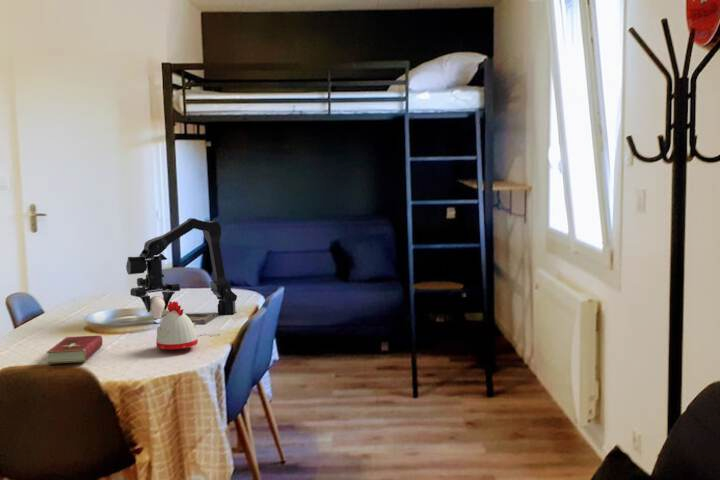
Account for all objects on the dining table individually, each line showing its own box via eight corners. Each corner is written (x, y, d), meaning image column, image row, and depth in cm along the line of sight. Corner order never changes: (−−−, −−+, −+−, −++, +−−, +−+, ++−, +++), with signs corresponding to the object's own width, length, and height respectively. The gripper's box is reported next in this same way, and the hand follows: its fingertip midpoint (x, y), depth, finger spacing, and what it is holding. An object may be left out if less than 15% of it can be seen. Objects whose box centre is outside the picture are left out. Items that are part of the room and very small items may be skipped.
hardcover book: (102, 346, 255) (102, 334, 255) (86, 361, 234) (85, 349, 234) (67, 347, 254) (66, 336, 254) (47, 363, 233) (46, 351, 233)
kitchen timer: (181, 337, 263) (179, 296, 262) (205, 342, 255) (203, 300, 253) (148, 345, 253) (146, 302, 251) (172, 351, 244) (170, 307, 243)
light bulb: (147, 325, 285) (145, 297, 284) (150, 322, 292) (149, 295, 291) (164, 324, 286) (163, 297, 285) (167, 321, 292) (166, 294, 291)
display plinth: (217, 316, 299) (217, 313, 299) (205, 324, 285) (205, 320, 285) (184, 316, 301) (184, 313, 301) (171, 324, 287) (170, 320, 287)
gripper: (166, 267, 299) (169, 305, 301) (123, 272, 287) (125, 312, 288) (180, 269, 291) (182, 308, 292) (135, 275, 278) (138, 315, 280)
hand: (156, 311), depth 288 cm, fingers closed on light bulb, 6 cm apart
